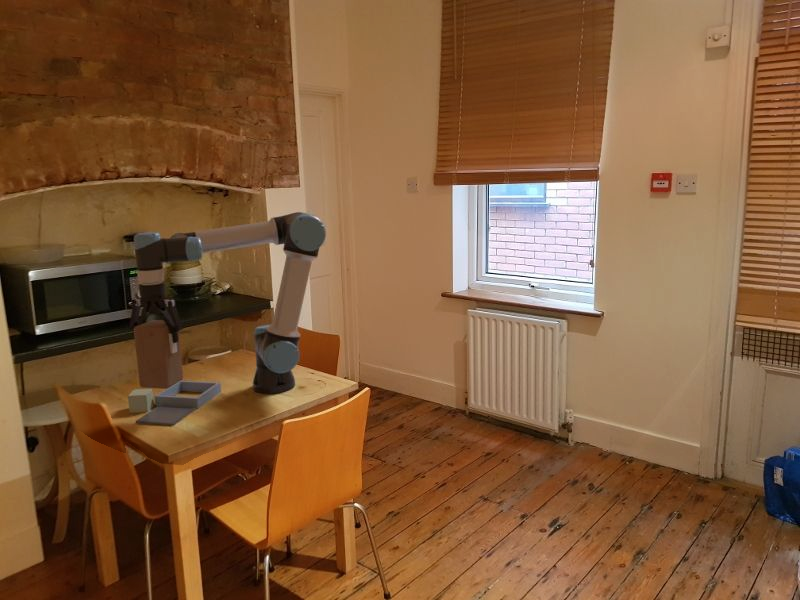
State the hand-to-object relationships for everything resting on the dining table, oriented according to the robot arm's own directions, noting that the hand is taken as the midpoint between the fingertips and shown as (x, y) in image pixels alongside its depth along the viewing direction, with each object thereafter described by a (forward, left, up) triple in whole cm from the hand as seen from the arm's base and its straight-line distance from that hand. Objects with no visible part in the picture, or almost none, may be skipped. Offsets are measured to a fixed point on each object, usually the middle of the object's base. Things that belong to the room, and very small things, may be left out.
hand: (158, 351), depth 195 cm
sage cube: (+12, -5, -22) cm, 26 cm away
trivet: (0, 0, -22) cm, 22 cm away
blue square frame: (+1, -16, -22) cm, 27 cm away
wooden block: (0, 0, -11) cm, 11 cm away
